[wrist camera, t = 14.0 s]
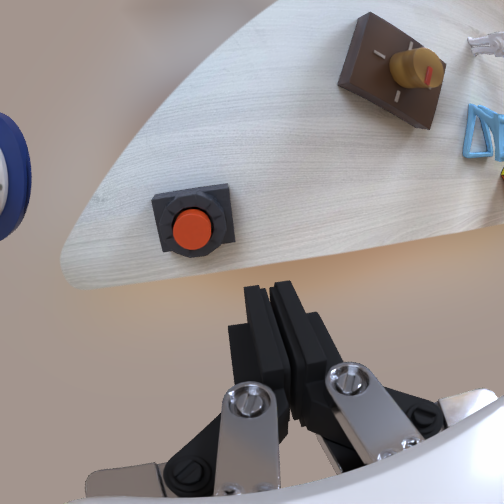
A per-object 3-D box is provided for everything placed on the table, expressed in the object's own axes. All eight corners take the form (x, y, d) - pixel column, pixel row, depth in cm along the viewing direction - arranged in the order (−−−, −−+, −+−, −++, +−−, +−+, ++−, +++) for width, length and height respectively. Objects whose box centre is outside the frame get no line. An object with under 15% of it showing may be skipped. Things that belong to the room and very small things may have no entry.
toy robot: (490, 55, 25) (544, 57, 14) (467, 59, 25) (527, 59, 15) (482, 34, 23) (536, 32, 12) (458, 35, 24) (517, 30, 13)
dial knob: (393, 45, 22) (419, 39, 18) (421, 64, 23) (448, 61, 19) (385, 77, 24) (411, 73, 20) (414, 95, 25) (441, 95, 21)
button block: (165, 246, 33) (160, 262, 29) (154, 192, 30) (146, 202, 26) (234, 236, 33) (237, 251, 30) (227, 180, 30) (229, 189, 27)
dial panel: (337, 85, 27) (349, 82, 24) (358, 18, 23) (370, 11, 20) (415, 127, 30) (430, 130, 27) (432, 65, 26) (447, 64, 23)
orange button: (178, 244, 29) (176, 252, 27) (171, 211, 27) (169, 217, 26) (213, 240, 29) (213, 247, 28) (208, 206, 28) (208, 211, 26)
